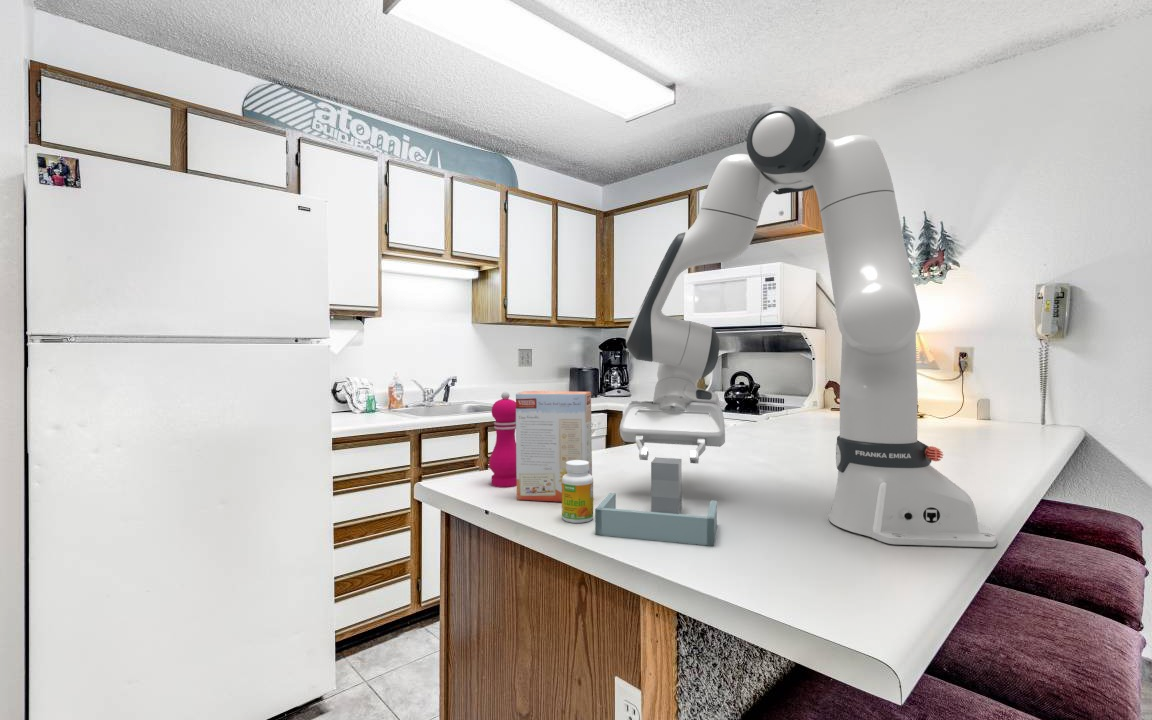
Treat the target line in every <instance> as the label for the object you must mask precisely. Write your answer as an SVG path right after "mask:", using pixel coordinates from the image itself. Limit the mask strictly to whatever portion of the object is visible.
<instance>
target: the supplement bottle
mask: <svg viewBox="0 0 1152 720" xmlns="http://www.w3.org/2000/svg"><path fill="white" fill-rule="evenodd" d="M566 471H567V474H565V475H564V476H563V477H562V502H561V518H562V520H563V521H565V522H567V523H571V524H582V523H588V522H590V521H592V520H593V518H594V477H593V475H592V476H591V475H590V474H588V471H589V462H588V461H584V460H571V461H567V462H566Z"/></svg>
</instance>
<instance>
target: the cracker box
mask: <svg viewBox="0 0 1152 720" xmlns="http://www.w3.org/2000/svg"><path fill="white" fill-rule="evenodd" d="M515 402H516V420H515V421H516V428H515V441H516V476H517V486H516V500H518V501H535V502H537V501H538V502H540V501H542V502H557V503H558V502H559V503H560V502H561V503H562V477H563V476H564V475H565V474H567V471H566V462H567V461H571V460H584V461H588V462H589V471H588V474H590V475H591V476H592V477H593V451H592V450H593V449H592V443H593V441H592V439H593V438H592V437H593V436H592V392H591V391H570V390H569V391H564V390H562V391H561V390H533V391H532V390H530V391H529V390H527V391H526V390H525V391H524V390H523V391H521V392H517V393H515Z"/></svg>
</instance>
